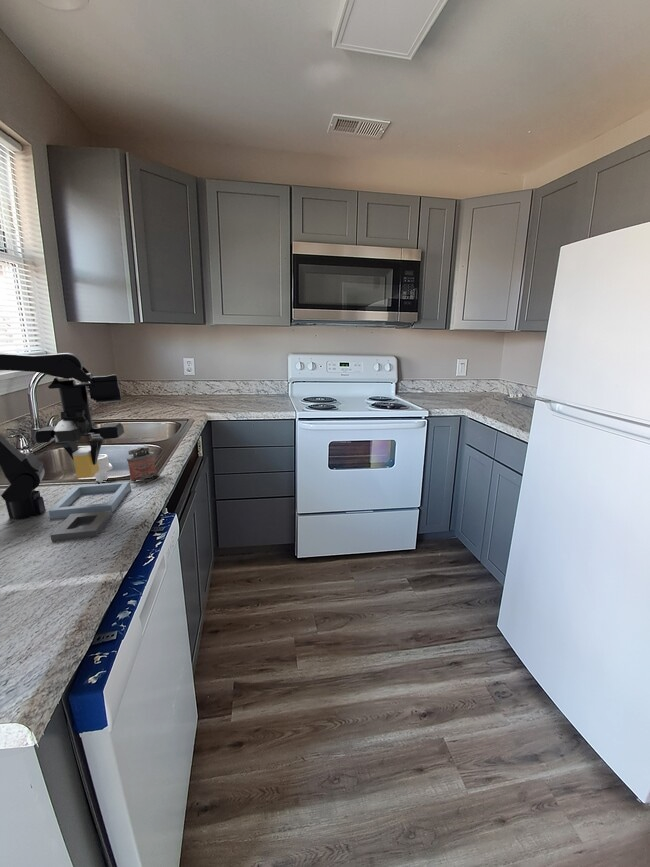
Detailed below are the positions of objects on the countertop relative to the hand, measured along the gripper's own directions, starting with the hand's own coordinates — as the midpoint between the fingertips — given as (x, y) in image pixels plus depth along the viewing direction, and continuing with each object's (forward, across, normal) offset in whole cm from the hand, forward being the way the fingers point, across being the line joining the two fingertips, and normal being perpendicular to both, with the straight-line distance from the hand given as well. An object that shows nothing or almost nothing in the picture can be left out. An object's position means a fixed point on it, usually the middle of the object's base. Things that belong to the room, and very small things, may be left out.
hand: (86, 464), depth 102 cm
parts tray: (+11, 0, 0) cm, 11 cm away
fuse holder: (+11, +3, -15) cm, 19 cm away
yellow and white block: (+2, 0, 0) cm, 2 cm away
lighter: (+12, +8, +18) cm, 23 cm away
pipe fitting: (+12, -4, +18) cm, 22 cm away
